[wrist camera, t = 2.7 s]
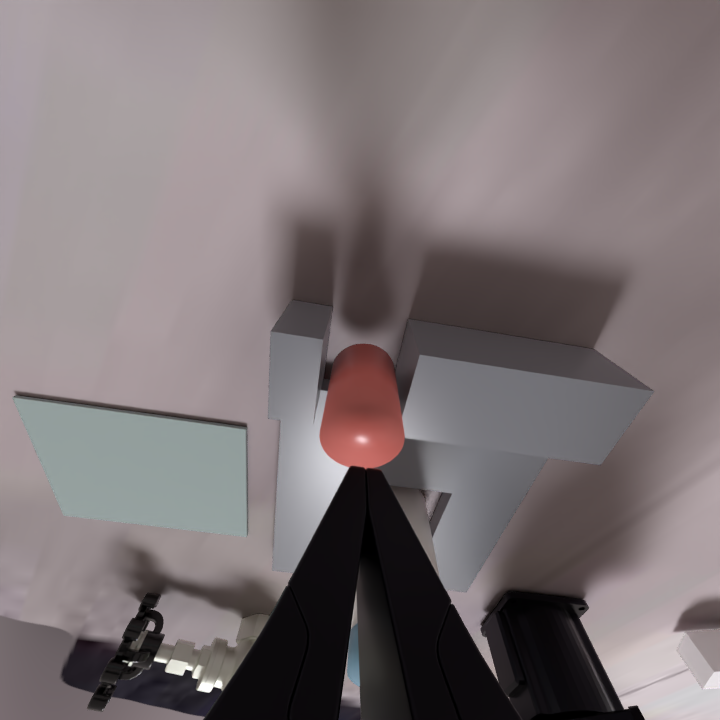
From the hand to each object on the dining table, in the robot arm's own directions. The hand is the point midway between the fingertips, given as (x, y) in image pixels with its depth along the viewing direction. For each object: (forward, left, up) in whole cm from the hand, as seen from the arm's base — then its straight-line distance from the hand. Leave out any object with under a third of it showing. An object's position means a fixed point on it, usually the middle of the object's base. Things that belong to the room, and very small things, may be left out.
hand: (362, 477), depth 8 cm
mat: (+12, +10, -7) cm, 17 cm away
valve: (+8, +27, -8) cm, 29 cm away
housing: (-4, +8, -7) cm, 11 cm away
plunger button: (0, 0, -5) cm, 5 cm away
